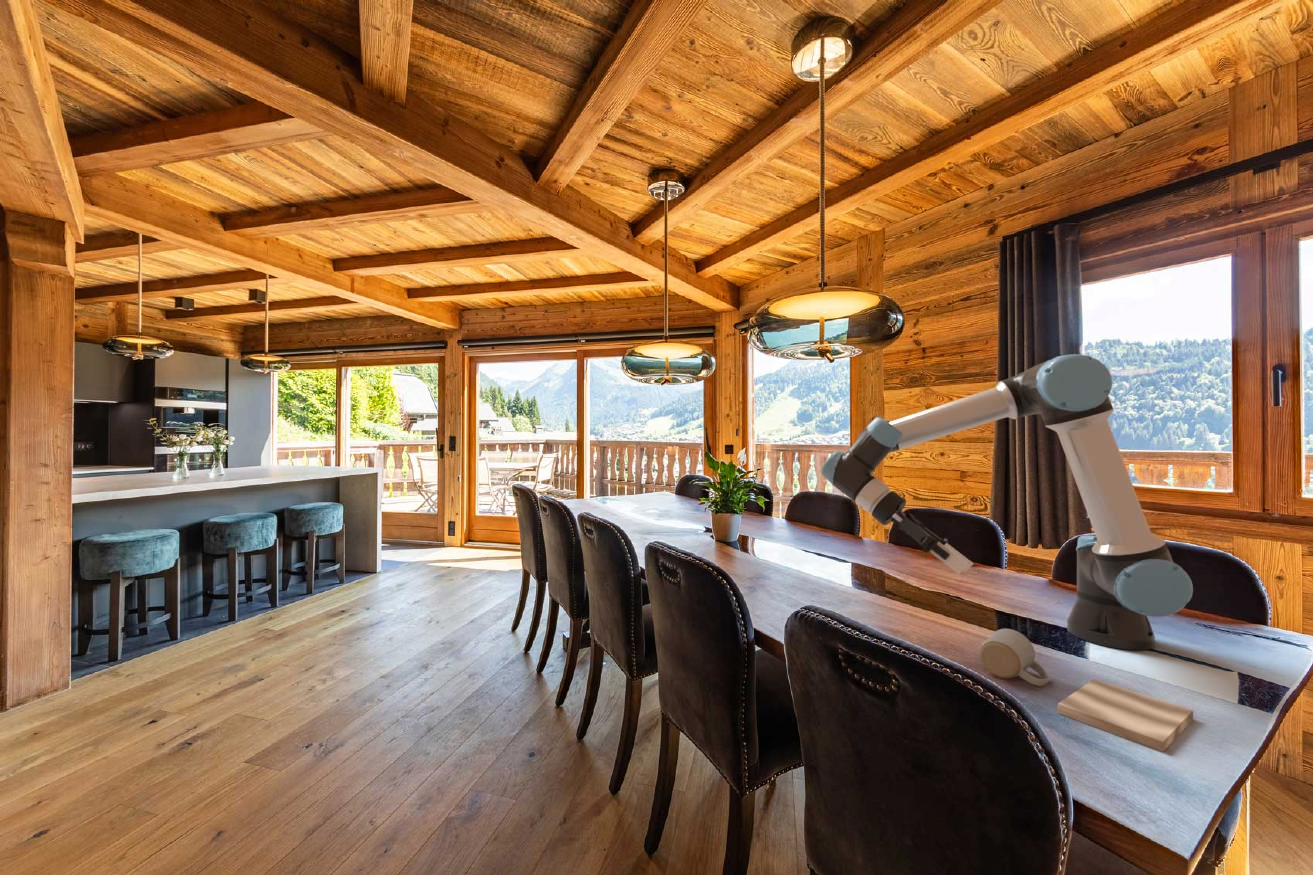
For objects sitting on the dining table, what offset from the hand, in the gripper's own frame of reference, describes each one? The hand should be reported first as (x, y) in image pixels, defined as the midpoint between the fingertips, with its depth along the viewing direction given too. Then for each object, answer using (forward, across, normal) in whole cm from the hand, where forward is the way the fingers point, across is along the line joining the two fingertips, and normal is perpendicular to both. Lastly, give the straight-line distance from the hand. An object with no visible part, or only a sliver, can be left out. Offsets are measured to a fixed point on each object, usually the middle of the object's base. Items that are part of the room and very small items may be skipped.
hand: (966, 568), depth 110 cm
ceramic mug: (+18, 0, -11) cm, 21 cm away
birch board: (+31, +8, -3) cm, 32 cm away
